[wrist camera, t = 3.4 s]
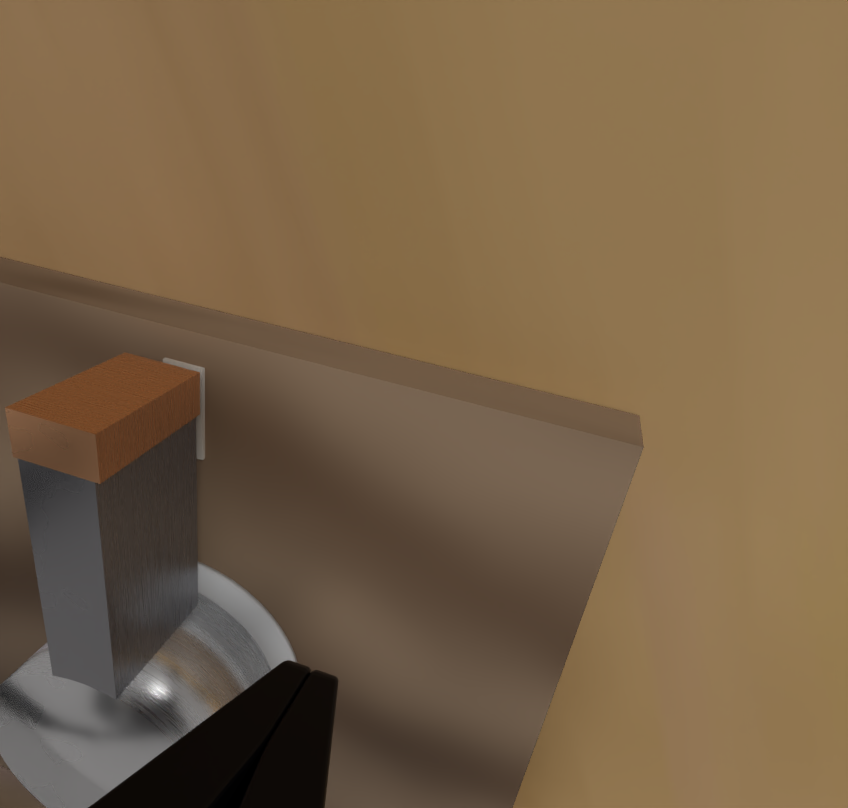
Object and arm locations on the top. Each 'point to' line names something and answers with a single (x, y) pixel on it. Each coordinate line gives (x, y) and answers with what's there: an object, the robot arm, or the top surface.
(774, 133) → the top surface
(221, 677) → the lock knob
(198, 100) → the top surface
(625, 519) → the top surface
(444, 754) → the lock board
